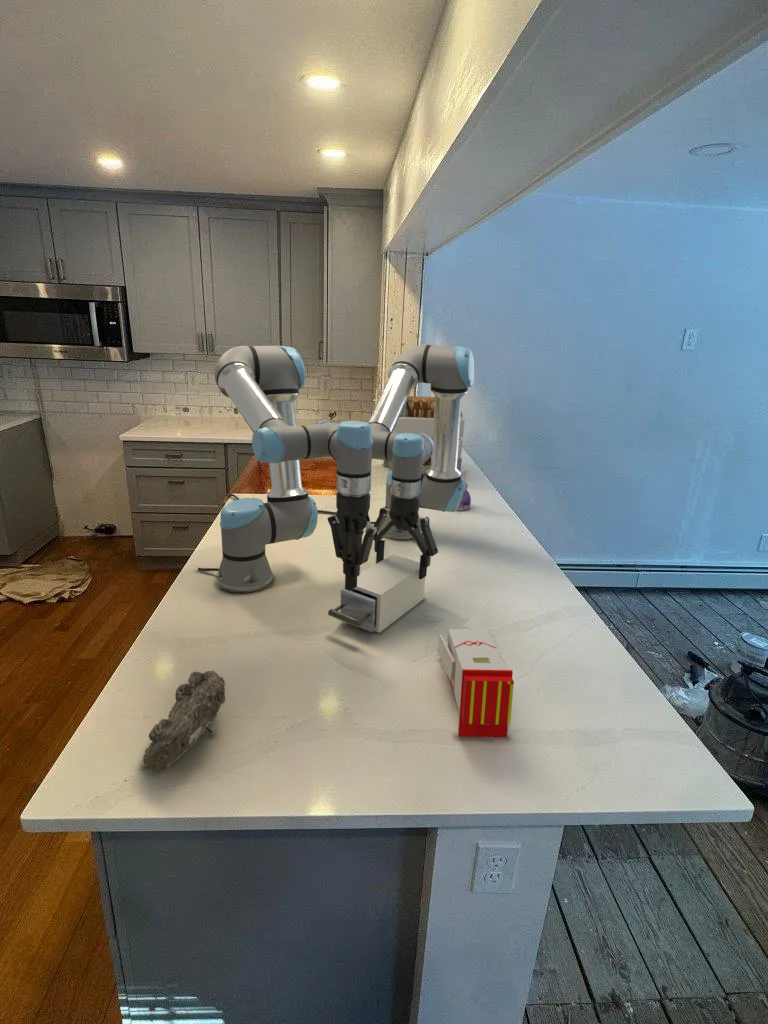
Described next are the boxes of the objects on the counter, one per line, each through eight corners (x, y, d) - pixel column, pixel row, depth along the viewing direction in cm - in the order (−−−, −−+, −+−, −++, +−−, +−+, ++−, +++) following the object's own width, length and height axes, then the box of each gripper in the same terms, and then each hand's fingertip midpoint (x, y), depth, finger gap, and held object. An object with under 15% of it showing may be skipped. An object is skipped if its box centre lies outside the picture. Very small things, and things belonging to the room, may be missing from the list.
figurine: (457, 512, 223) (460, 476, 218) (443, 504, 231) (446, 469, 226) (477, 509, 227) (480, 473, 222) (462, 502, 236) (465, 467, 230)
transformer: (382, 463, 289) (386, 382, 275) (445, 464, 293) (451, 384, 279) (390, 482, 257) (394, 392, 243) (460, 483, 261) (468, 394, 247)
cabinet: (379, 632, 139) (380, 594, 135) (344, 618, 144) (344, 581, 141) (423, 598, 156) (426, 564, 152) (391, 587, 161) (392, 553, 158)
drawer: (358, 642, 132) (359, 610, 130) (326, 629, 137) (326, 598, 134) (415, 600, 153) (417, 572, 150) (385, 589, 158) (386, 562, 155)
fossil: (173, 672, 114) (226, 639, 109) (207, 702, 116) (260, 672, 111) (117, 763, 94) (178, 728, 89) (159, 797, 97) (220, 765, 92)
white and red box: (488, 613, 130) (523, 677, 101) (484, 667, 133) (517, 744, 104) (435, 612, 130) (455, 676, 101) (432, 666, 133) (451, 743, 103)
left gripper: (319, 490, 126) (319, 585, 134) (367, 502, 119) (364, 602, 127) (340, 482, 132) (339, 574, 140) (387, 494, 125) (382, 589, 133)
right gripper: (357, 488, 148) (354, 562, 155) (441, 509, 136) (434, 588, 143) (373, 482, 154) (370, 553, 161) (455, 501, 142) (448, 578, 149)
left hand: (350, 587), depth 133 cm, fingers closed
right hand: (400, 570), depth 152 cm, fingers open, 13 cm apart
